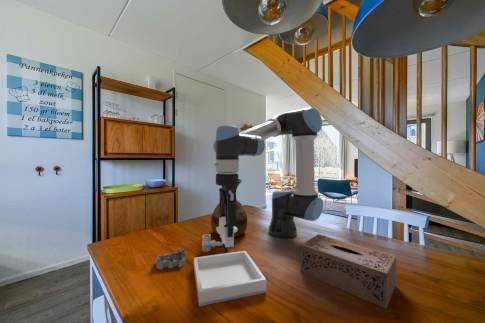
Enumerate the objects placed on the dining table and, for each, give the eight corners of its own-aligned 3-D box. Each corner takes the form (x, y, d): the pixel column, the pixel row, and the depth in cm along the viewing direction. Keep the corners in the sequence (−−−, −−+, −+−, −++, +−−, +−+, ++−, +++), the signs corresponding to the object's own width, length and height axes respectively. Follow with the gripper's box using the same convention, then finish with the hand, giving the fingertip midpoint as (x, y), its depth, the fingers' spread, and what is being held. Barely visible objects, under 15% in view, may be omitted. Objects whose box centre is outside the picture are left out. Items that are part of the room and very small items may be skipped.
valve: (199, 253, 87) (226, 255, 85) (199, 238, 87) (227, 240, 85) (204, 246, 94) (230, 248, 92) (204, 232, 93) (230, 234, 92)
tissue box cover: (300, 272, 74) (300, 244, 74) (318, 258, 84) (318, 234, 84) (386, 310, 56) (387, 273, 55) (395, 286, 66) (396, 255, 66)
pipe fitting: (235, 246, 65) (236, 221, 65) (213, 245, 66) (214, 220, 65) (238, 239, 71) (238, 216, 71) (218, 237, 72) (218, 215, 72)
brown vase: (212, 241, 99) (213, 180, 98) (209, 227, 118) (209, 176, 118) (251, 238, 103) (252, 179, 103) (242, 225, 123) (242, 175, 122)
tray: (245, 260, 81) (245, 250, 81) (266, 292, 62) (266, 279, 62) (193, 268, 75) (193, 257, 75) (199, 306, 56) (199, 292, 56)
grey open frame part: (186, 258, 83) (186, 248, 83) (185, 268, 76) (185, 257, 76) (158, 260, 81) (158, 250, 81) (154, 271, 74) (154, 259, 74)
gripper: (211, 171, 76) (210, 232, 77) (222, 175, 57) (221, 256, 58) (230, 170, 78) (230, 230, 79) (247, 175, 59) (246, 253, 60)
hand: (226, 241), depth 68 cm, fingers closed on pipe fitting, 7 cm apart
